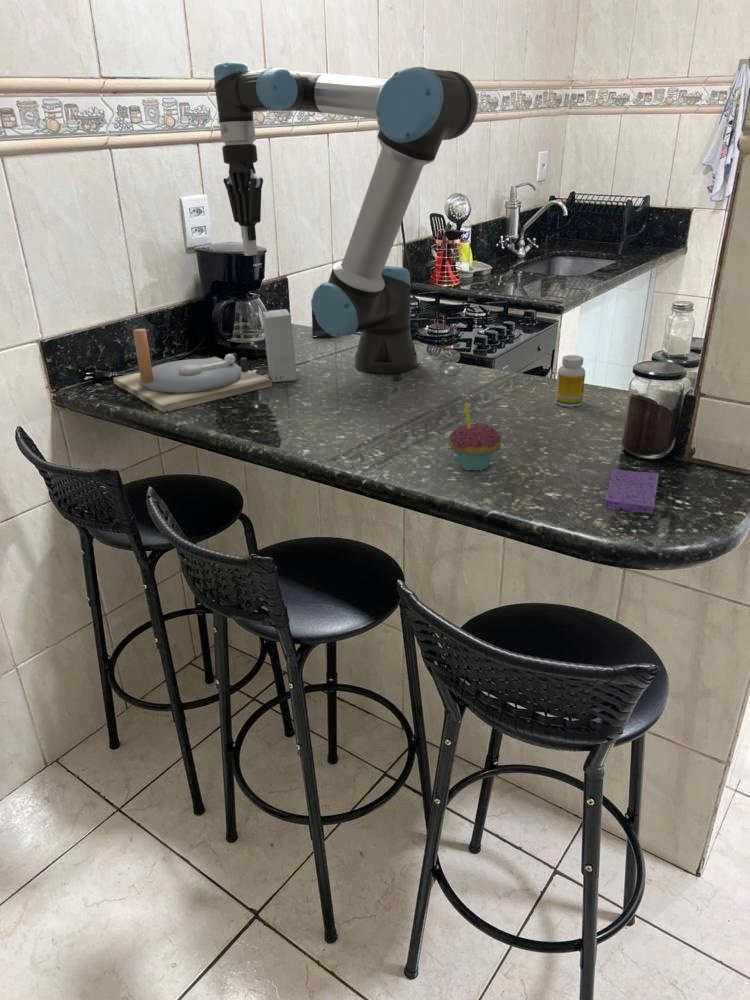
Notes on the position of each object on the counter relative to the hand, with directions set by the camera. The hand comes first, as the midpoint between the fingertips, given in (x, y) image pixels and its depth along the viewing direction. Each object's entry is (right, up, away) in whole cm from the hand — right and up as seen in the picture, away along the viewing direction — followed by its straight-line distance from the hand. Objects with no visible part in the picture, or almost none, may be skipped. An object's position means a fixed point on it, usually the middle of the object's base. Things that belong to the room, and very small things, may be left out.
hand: (250, 254), depth 174 cm
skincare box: (+8, -29, -2) cm, 30 cm away
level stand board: (-12, -32, -7) cm, 35 cm away
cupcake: (+46, -52, -50) cm, 85 cm away
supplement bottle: (+69, -38, -23) cm, 82 cm away
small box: (+15, -11, +35) cm, 39 cm away
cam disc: (-12, -30, -8) cm, 33 cm away
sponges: (+69, -57, -60) cm, 108 cm away
